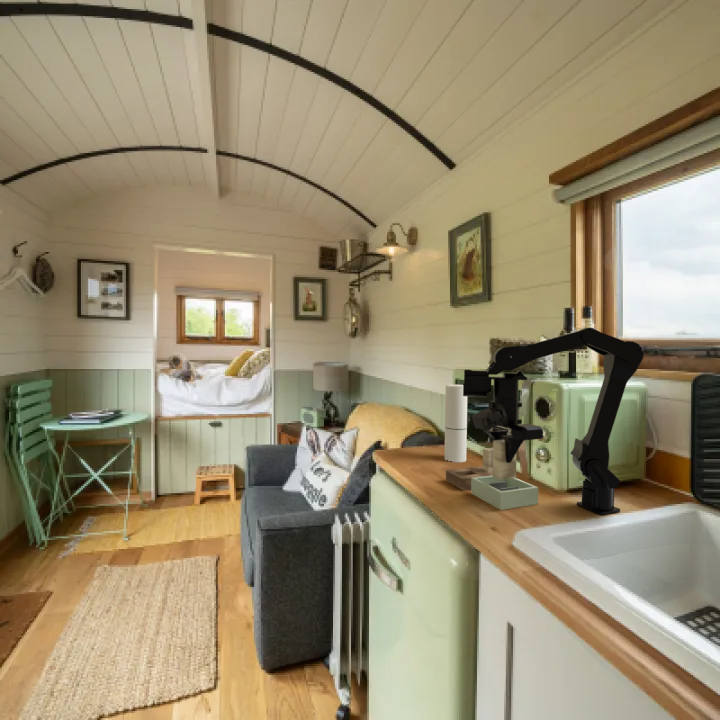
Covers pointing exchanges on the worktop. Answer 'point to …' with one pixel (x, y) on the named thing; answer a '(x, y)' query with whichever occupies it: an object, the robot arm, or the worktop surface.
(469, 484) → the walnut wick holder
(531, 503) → the green open tray
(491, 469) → the block
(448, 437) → the cylindrical container
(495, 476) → the block
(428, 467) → the worktop surface
